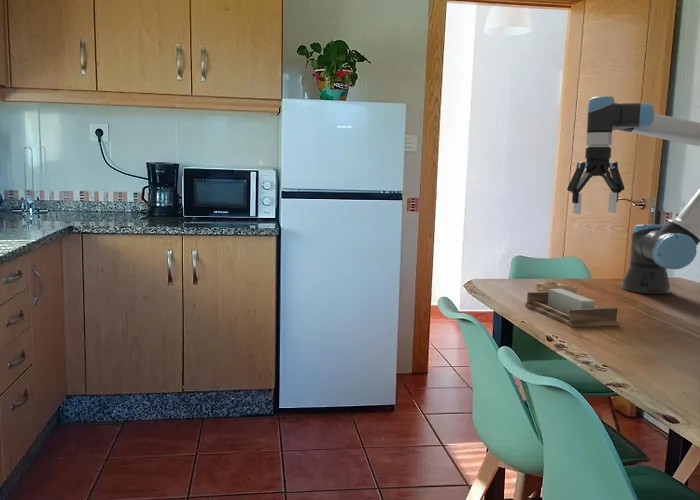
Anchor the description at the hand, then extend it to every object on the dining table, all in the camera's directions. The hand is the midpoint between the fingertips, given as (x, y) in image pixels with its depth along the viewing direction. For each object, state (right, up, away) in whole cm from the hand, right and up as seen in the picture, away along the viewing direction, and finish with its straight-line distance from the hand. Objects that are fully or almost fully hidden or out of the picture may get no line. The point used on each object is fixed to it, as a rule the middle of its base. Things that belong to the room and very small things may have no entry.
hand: (594, 213), depth 199 cm
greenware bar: (-16, -30, -23) cm, 41 cm away
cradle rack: (-16, -31, -22) cm, 41 cm away
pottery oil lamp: (-13, -28, 0) cm, 30 cm away
